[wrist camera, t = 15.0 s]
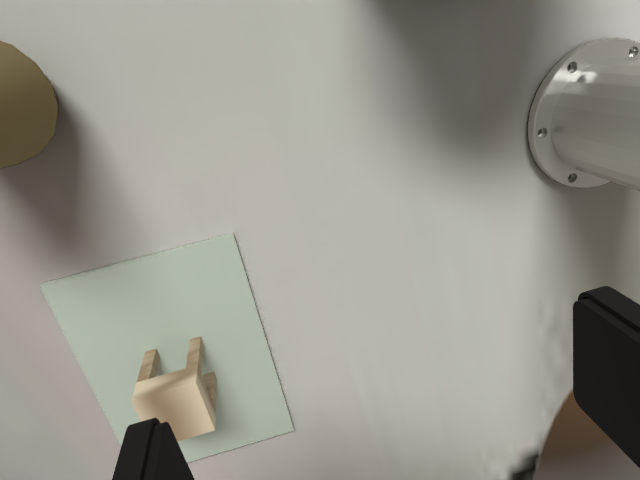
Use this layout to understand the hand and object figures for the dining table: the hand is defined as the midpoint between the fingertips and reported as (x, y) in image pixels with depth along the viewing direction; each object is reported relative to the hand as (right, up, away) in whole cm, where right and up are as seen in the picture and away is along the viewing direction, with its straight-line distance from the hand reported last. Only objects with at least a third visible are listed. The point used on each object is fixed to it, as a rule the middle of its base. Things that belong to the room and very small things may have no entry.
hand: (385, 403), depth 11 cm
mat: (-14, -8, +33) cm, 37 cm away
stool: (-14, -8, +33) cm, 37 cm away
